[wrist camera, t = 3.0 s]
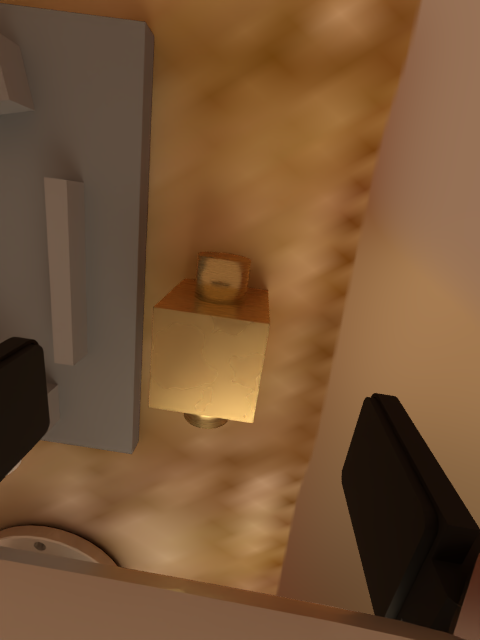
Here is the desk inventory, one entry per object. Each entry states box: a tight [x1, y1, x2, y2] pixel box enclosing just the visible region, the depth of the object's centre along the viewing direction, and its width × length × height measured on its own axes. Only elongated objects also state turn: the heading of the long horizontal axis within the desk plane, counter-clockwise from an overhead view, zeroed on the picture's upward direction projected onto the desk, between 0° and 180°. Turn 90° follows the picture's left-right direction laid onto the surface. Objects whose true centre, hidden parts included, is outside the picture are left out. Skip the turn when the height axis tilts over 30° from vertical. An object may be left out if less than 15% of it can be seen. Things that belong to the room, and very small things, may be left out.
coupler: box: [149, 252, 270, 429], centre depth 16 cm, size 8×5×6 cm, turn 173°
